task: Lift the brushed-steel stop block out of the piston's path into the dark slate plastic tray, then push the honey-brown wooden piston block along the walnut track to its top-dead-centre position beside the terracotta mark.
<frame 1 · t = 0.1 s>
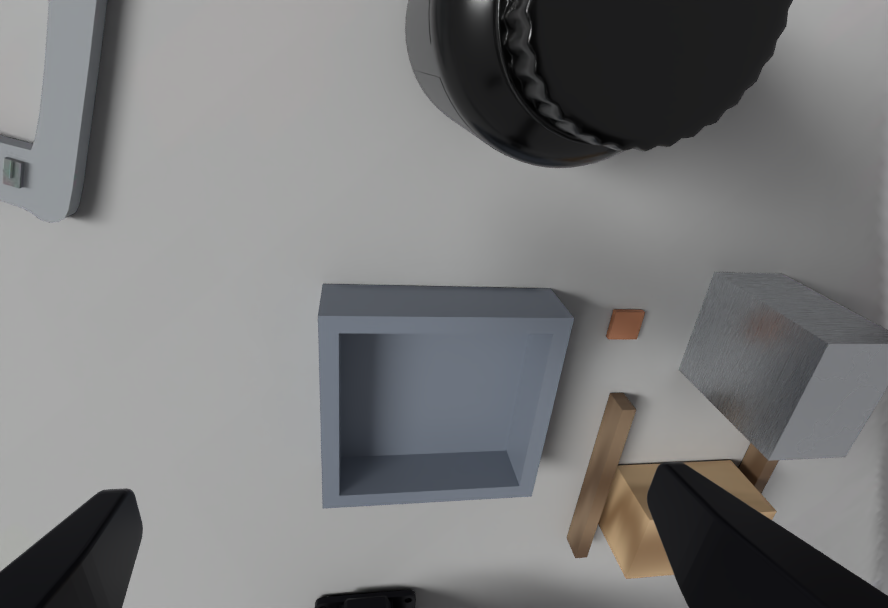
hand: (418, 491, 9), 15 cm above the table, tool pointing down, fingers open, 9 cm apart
supplement bottle: (491, 31, 19), on the table
tray: (432, 380, 26), on the table
piston block: (680, 516, 31), point 2 cm above the table, slide at 0.0 cm
stop block: (728, 323, 27), on the table
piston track: (671, 467, 32), on the table
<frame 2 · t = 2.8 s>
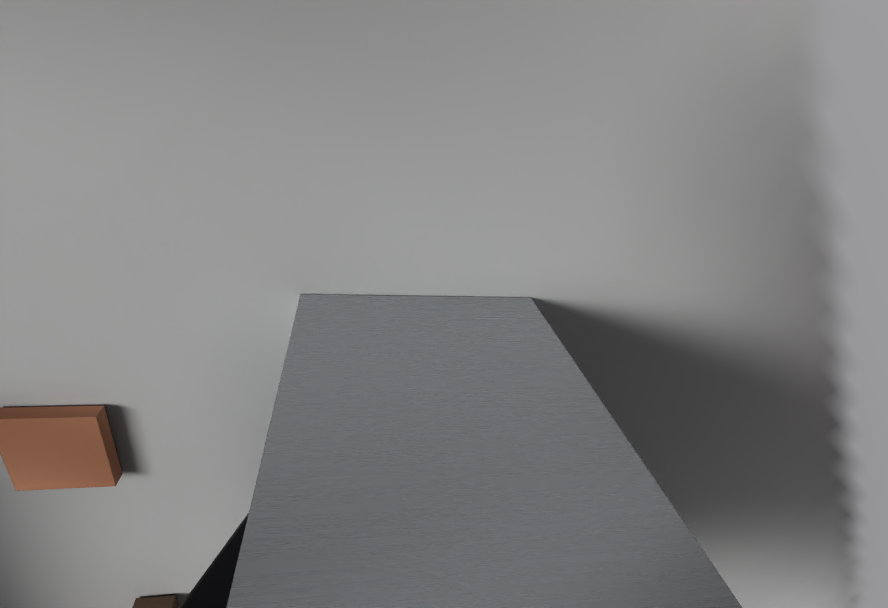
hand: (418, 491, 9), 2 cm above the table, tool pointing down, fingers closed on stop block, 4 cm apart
stop block: (409, 430, 10), on the table, touching gripper
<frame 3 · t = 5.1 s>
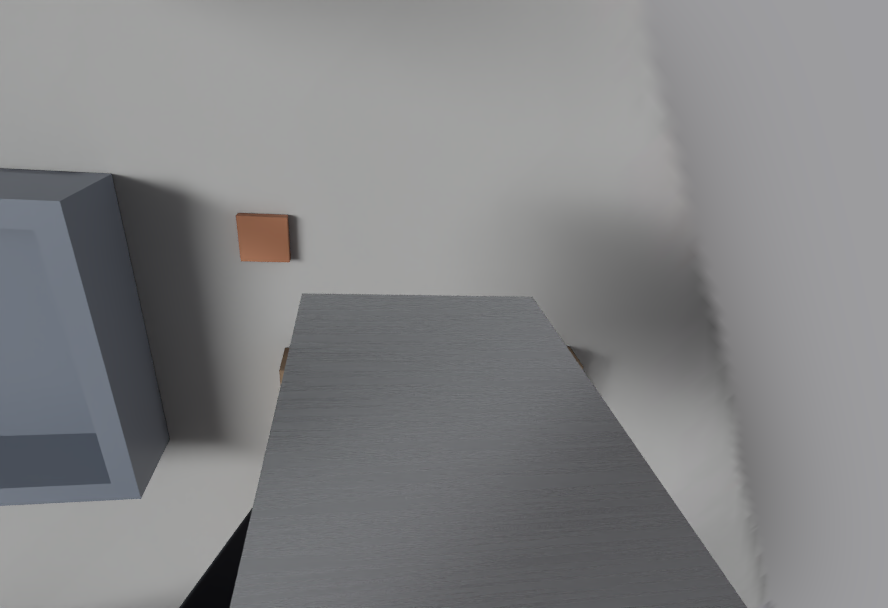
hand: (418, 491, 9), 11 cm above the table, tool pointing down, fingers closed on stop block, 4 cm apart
stop block: (411, 430, 10), point 9 cm above the table, touching gripper
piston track: (424, 457, 23), on the table
when the fingers open (3 cm above the table, at t = 7.9 s): stop block drops 1 cm, resting on tray.
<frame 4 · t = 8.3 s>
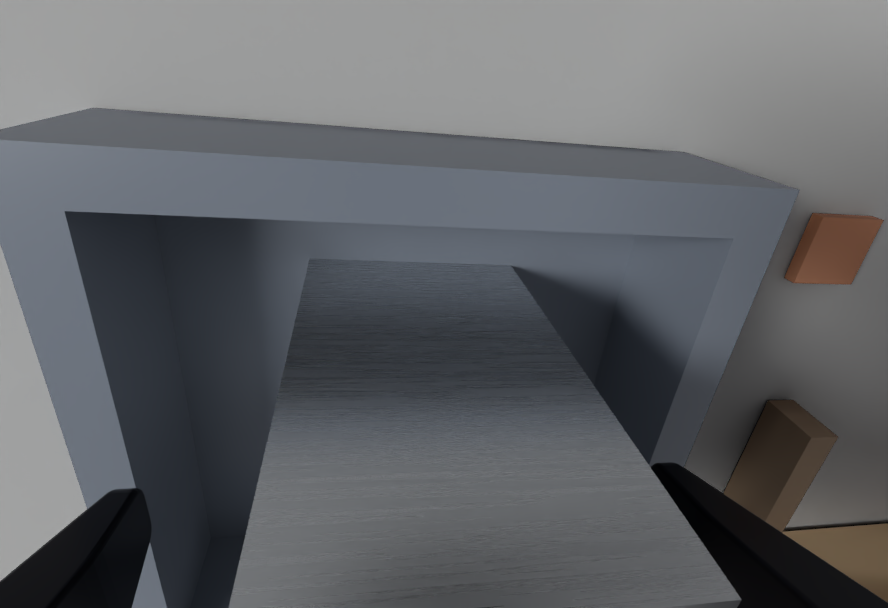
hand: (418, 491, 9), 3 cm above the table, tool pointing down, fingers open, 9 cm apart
tray: (403, 375, 11), on the table
stop block: (404, 385, 11), resting on tray
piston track: (845, 533, 17), on the table
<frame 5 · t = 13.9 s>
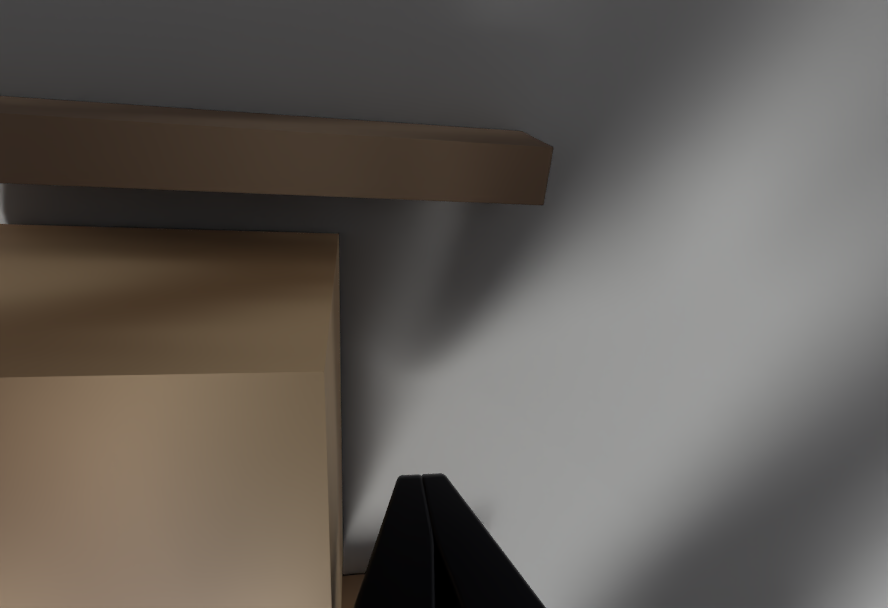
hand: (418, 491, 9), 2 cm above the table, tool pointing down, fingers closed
piston block: (176, 511, 8), point 2 cm above the table, slide at 1.4 cm, touching gripper
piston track: (179, 424, 10), on the table
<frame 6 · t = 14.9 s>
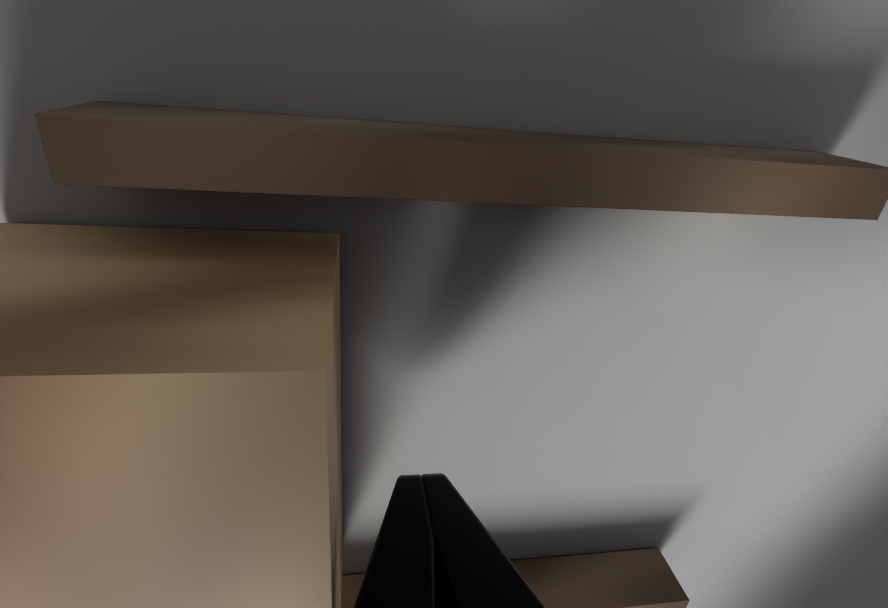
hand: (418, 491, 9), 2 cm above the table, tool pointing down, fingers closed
piston block: (176, 510, 8), point 2 cm above the table, slide at 7.2 cm, touching gripper
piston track: (468, 413, 11), on the table
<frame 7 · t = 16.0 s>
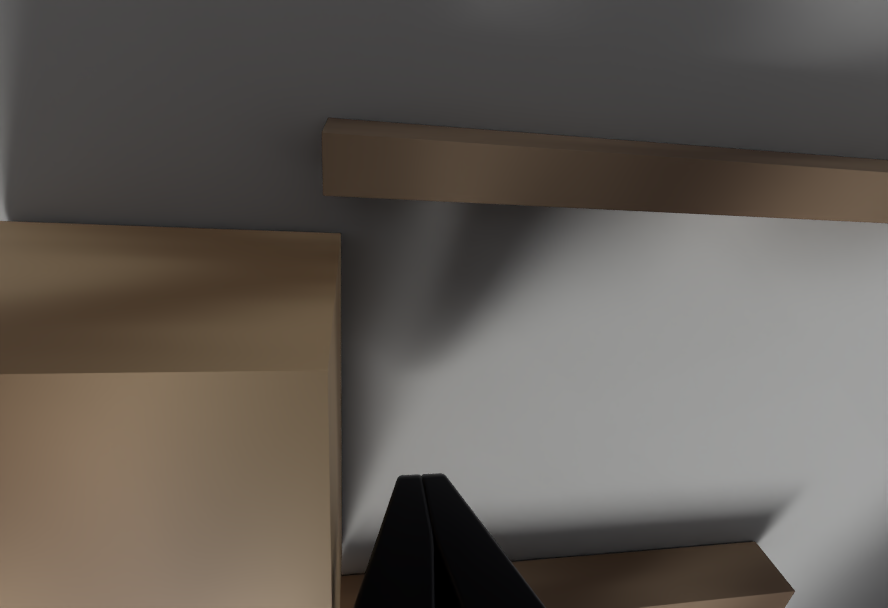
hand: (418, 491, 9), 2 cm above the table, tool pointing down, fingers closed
piston block: (176, 509, 8), point 2 cm above the table, slide at 10.3 cm, touching gripper
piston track: (604, 410, 11), on the table
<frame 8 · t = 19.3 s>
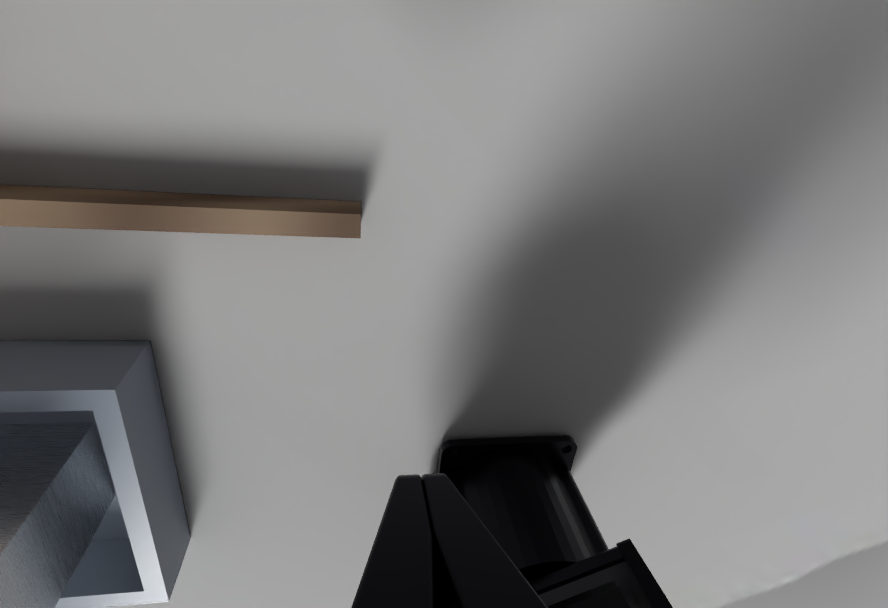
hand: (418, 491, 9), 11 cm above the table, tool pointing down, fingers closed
tray: (26, 456, 20), on the table
stop block: (20, 463, 19), resting on tray
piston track: (146, 15, 14), on the table
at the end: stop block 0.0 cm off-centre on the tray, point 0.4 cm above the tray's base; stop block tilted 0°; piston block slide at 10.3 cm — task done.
